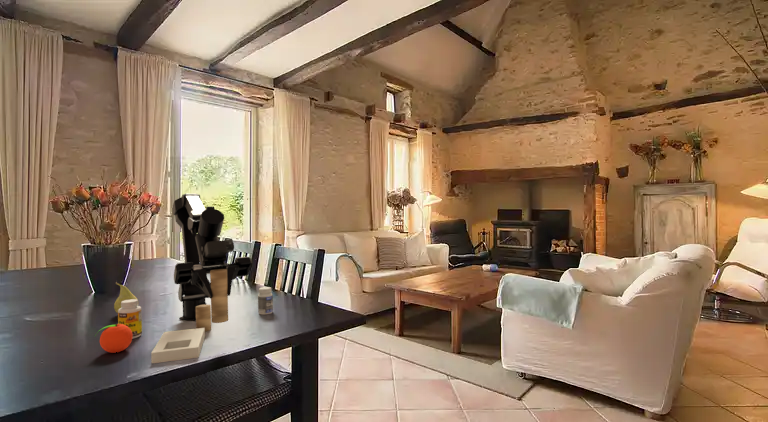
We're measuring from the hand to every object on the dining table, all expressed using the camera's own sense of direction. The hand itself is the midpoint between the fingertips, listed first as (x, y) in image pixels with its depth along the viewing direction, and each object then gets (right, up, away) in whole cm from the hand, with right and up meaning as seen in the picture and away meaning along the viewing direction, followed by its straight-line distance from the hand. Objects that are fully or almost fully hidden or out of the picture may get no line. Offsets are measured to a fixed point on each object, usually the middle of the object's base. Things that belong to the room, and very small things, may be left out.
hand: (220, 296), depth 101 cm
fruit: (-45, -14, +33) cm, 57 cm away
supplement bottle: (-29, -14, +11) cm, 34 cm away
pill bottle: (+2, -13, +33) cm, 35 cm away
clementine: (-26, -14, -1) cm, 30 cm away
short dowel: (-11, -13, +16) cm, 24 cm away
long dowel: (-1, -7, +1) cm, 7 cm away
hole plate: (-11, -14, +1) cm, 17 cm away
